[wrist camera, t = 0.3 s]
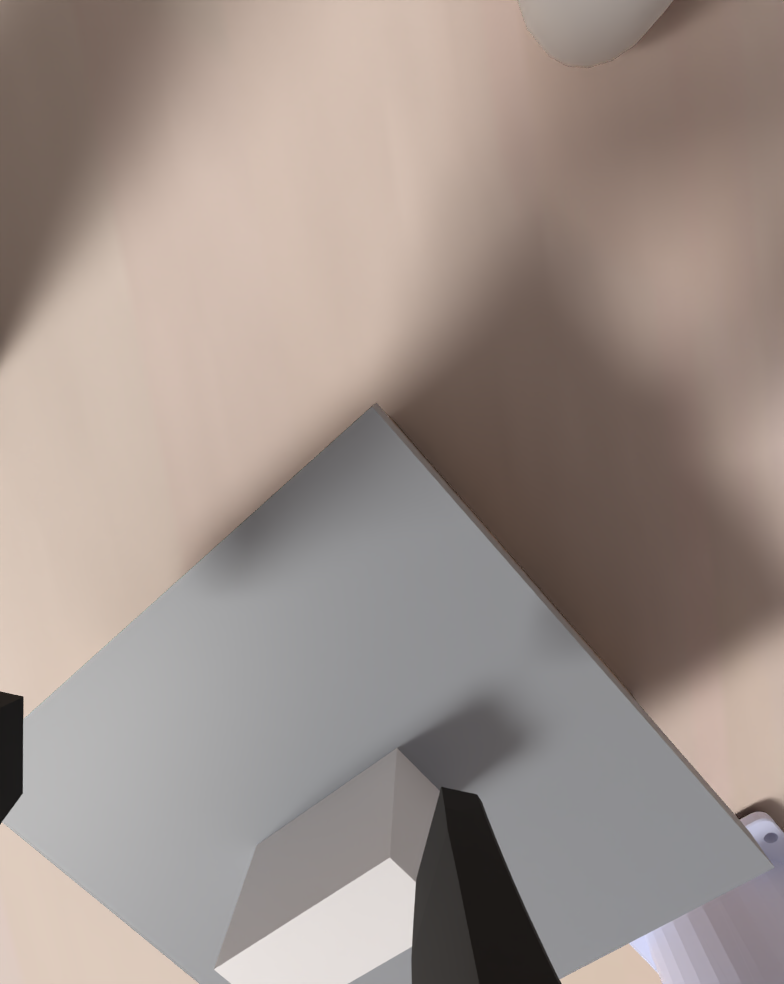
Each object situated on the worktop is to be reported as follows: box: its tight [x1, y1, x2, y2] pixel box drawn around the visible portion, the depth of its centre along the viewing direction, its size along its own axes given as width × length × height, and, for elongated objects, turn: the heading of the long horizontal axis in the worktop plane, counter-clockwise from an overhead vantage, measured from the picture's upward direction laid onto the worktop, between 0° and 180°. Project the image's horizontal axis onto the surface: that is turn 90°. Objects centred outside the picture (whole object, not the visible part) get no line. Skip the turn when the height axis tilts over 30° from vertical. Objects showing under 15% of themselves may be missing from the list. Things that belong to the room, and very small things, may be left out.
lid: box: [2, 403, 775, 984], centre depth 12 cm, size 15×15×4 cm
